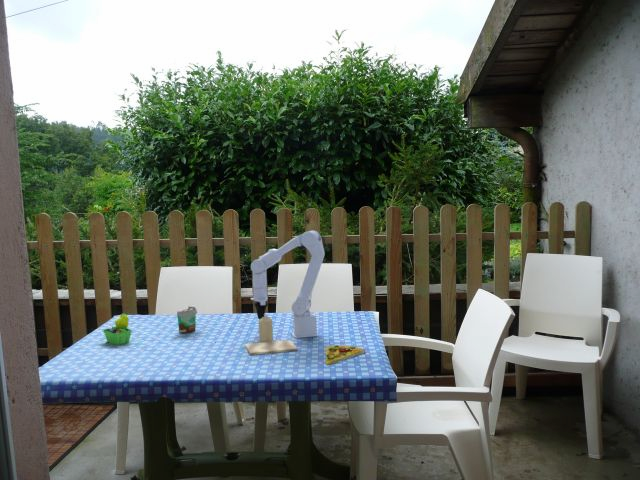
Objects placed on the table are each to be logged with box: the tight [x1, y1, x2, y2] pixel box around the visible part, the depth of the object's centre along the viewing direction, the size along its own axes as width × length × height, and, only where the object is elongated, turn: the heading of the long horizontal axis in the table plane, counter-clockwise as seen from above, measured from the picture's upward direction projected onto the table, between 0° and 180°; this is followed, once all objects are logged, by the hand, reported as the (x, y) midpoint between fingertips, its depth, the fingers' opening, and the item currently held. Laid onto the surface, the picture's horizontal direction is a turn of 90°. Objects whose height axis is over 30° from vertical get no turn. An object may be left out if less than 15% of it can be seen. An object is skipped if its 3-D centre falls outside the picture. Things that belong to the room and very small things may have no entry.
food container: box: [176, 305, 198, 335], centre depth 248 cm, size 12×6×10 cm, turn 168°
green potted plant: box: [102, 313, 133, 346], centre depth 232 cm, size 11×9×11 cm
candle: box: [258, 315, 274, 343], centre depth 227 cm, size 6×6×10 cm
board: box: [244, 339, 298, 356], centre depth 216 cm, size 18×14×1 cm
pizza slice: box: [325, 344, 366, 366], centre depth 202 cm, size 16×21×3 cm
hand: (261, 319), depth 238 cm, fingers closed
